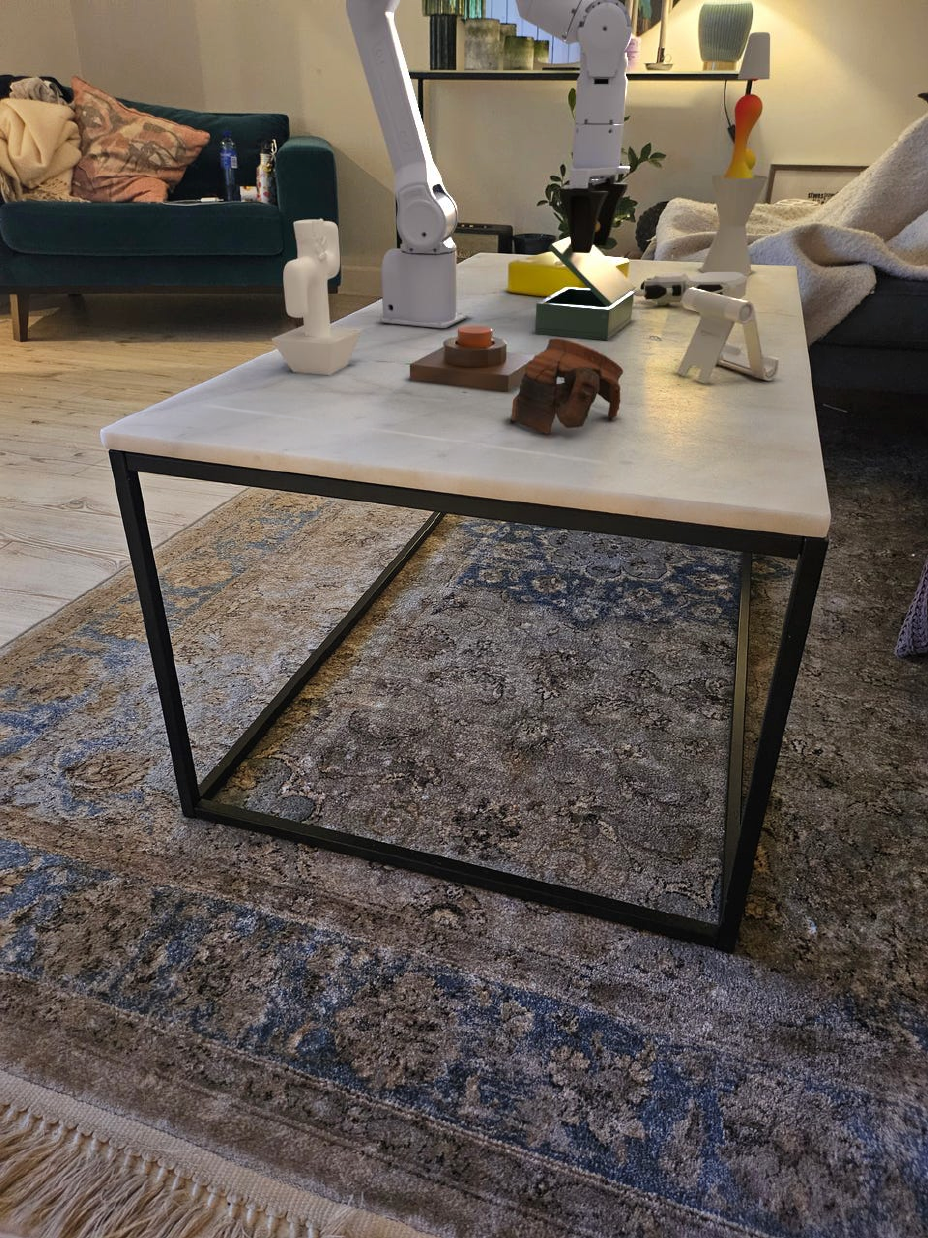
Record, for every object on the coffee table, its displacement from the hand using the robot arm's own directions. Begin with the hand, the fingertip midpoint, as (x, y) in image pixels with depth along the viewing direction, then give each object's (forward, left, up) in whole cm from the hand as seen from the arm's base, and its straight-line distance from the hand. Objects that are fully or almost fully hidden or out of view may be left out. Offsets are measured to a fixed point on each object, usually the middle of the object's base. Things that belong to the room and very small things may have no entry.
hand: (590, 248), depth 110 cm
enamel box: (0, 0, -10) cm, 10 cm away
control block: (-4, -28, -10) cm, 30 cm away
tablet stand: (+20, -17, -10) cm, 28 cm away
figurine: (-21, -32, -10) cm, 39 cm away
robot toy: (+10, +20, -10) cm, 24 cm away
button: (-4, -28, -6) cm, 29 cm away
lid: (+1, 0, -3) cm, 3 cm away
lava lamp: (+10, +54, -10) cm, 56 cm away
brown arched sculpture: (+10, -40, -10) cm, 42 cm away
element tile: (-10, +25, -10) cm, 29 cm away
